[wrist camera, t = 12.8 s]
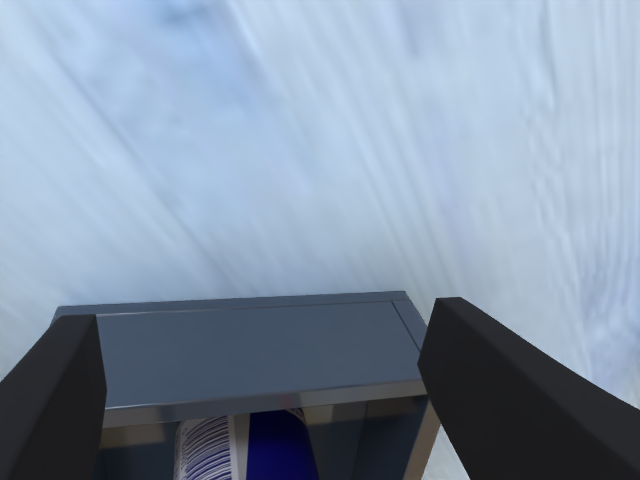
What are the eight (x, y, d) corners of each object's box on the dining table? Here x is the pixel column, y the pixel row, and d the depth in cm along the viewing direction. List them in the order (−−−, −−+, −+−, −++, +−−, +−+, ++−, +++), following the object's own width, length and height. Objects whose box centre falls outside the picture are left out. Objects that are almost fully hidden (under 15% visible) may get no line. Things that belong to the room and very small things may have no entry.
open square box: (101, 520, 22) (81, 640, 18) (56, 305, 16) (11, 418, 12) (357, 482, 25) (387, 578, 21) (404, 290, 19) (458, 375, 15)
